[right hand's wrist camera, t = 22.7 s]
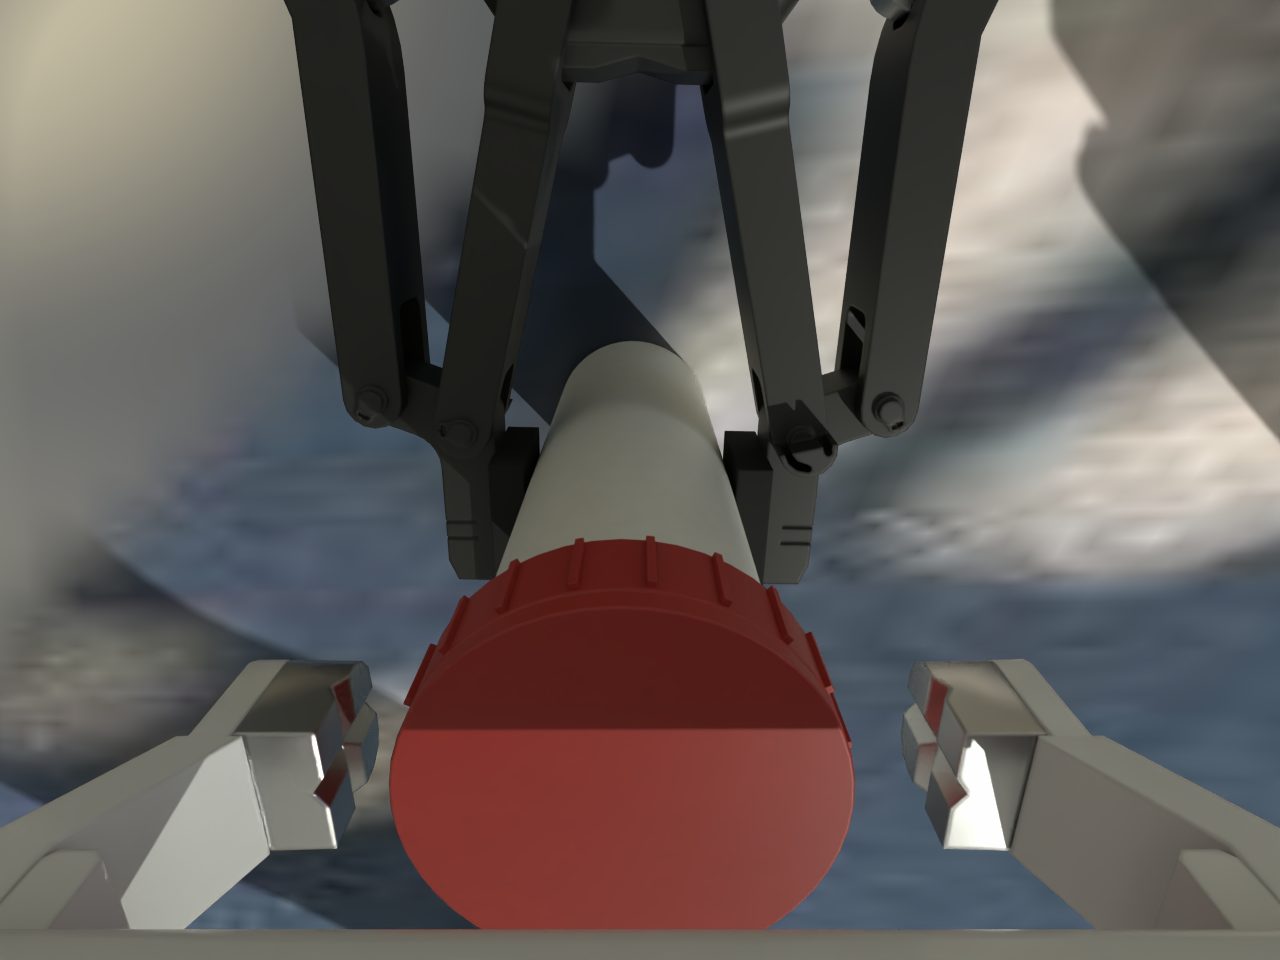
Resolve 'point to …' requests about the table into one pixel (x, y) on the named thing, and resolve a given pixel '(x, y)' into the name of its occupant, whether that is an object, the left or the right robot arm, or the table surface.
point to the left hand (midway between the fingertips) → (627, 680)
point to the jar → (631, 463)
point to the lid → (622, 747)
